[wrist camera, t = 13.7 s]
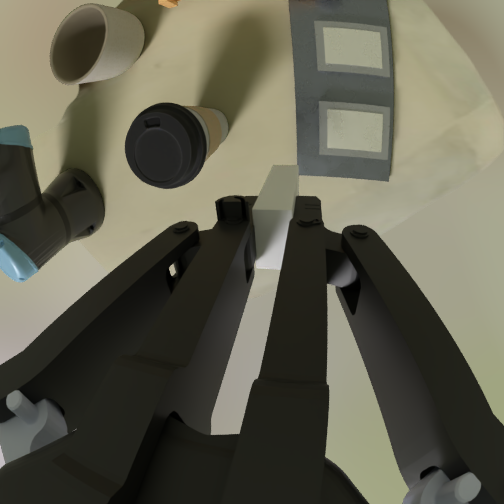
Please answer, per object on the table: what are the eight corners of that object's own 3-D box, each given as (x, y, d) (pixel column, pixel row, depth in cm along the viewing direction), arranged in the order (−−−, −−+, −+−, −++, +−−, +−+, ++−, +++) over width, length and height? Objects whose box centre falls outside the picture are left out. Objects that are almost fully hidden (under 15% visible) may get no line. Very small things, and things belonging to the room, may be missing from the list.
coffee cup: (220, 85, 33) (166, 85, 21) (253, 140, 37) (217, 167, 25) (170, 118, 37) (105, 138, 25) (200, 168, 41) (149, 208, 29)
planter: (168, 26, 29) (124, 14, 20) (129, 91, 36) (82, 98, 27) (118, 5, 27) (73, -4, 18) (86, 64, 34) (40, 69, 25)
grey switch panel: (297, 173, 38) (295, 183, 34) (286, -23, 22) (281, -36, 18) (387, 179, 35) (394, 190, 31) (381, -17, 19) (388, -28, 15)
